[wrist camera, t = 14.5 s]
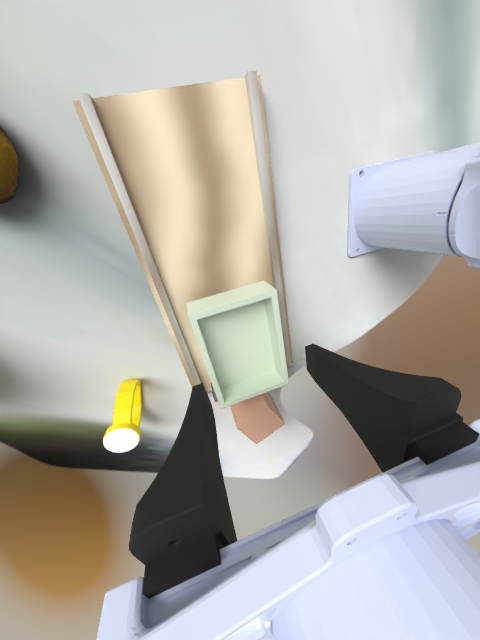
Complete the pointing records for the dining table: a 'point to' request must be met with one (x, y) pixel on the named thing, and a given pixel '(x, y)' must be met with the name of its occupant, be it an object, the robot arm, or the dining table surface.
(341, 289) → the dining table surface
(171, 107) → the track
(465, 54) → the dining table surface
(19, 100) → the dining table surface
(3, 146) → the fruit
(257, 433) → the block
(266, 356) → the pale green open tray
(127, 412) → the watch
